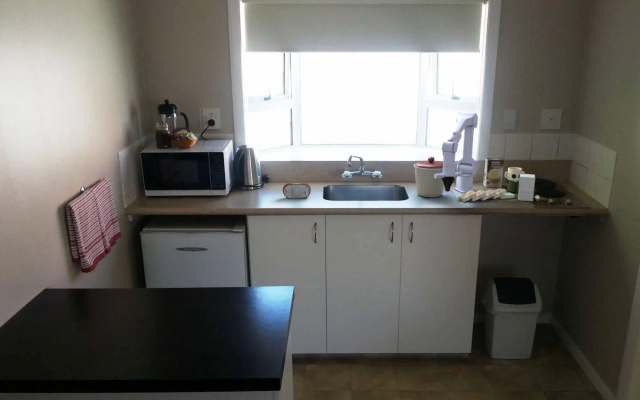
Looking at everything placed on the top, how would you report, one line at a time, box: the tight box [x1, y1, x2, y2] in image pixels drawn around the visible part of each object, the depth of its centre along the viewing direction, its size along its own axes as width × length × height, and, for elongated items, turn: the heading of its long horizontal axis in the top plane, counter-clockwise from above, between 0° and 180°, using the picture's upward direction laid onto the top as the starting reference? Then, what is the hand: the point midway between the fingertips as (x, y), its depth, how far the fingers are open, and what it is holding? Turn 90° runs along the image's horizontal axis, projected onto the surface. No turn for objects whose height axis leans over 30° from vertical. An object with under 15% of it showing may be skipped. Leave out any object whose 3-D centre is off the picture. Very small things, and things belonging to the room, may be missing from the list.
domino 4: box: [489, 187, 507, 200], centre depth 273 cm, size 4×2×8 cm
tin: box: [282, 182, 312, 199], centre depth 276 cm, size 15×3×8 cm, turn 94°
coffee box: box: [482, 157, 505, 188], centre depth 295 cm, size 9×6×16 cm
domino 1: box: [457, 189, 477, 203], centre depth 268 cm, size 4×2×8 cm
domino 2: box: [468, 189, 486, 202], centre depth 269 cm, size 4×2×8 cm
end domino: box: [498, 192, 515, 200], centre depth 274 cm, size 4×2×8 cm
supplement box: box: [517, 173, 536, 202], centre depth 268 cm, size 7×7×13 cm
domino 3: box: [479, 189, 496, 201], centre depth 270 cm, size 4×2×8 cm
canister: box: [413, 156, 445, 198], centre depth 277 cm, size 18×18×21 cm
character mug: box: [504, 166, 526, 193], centre depth 283 cm, size 11×7×13 cm, turn 93°
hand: (447, 191), depth 264 cm, fingers closed
